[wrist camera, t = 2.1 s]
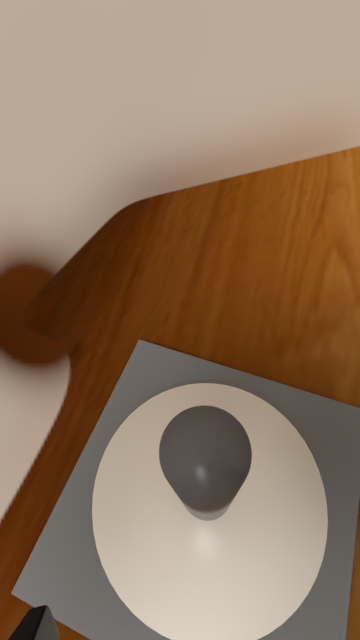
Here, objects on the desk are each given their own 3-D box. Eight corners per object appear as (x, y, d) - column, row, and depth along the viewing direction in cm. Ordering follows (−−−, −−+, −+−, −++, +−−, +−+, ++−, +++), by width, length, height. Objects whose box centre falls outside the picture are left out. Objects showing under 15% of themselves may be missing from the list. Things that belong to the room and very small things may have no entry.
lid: (299, 703, 14) (451, 980, 5) (53, 571, 17) (-114, 606, 8) (338, 426, 20) (441, 334, 11) (150, 364, 23) (113, 253, 14)
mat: (328, 772, 13) (331, 779, 13) (14, 592, 17) (10, 593, 17) (365, 412, 20) (368, 410, 20) (140, 342, 24) (139, 339, 24)
